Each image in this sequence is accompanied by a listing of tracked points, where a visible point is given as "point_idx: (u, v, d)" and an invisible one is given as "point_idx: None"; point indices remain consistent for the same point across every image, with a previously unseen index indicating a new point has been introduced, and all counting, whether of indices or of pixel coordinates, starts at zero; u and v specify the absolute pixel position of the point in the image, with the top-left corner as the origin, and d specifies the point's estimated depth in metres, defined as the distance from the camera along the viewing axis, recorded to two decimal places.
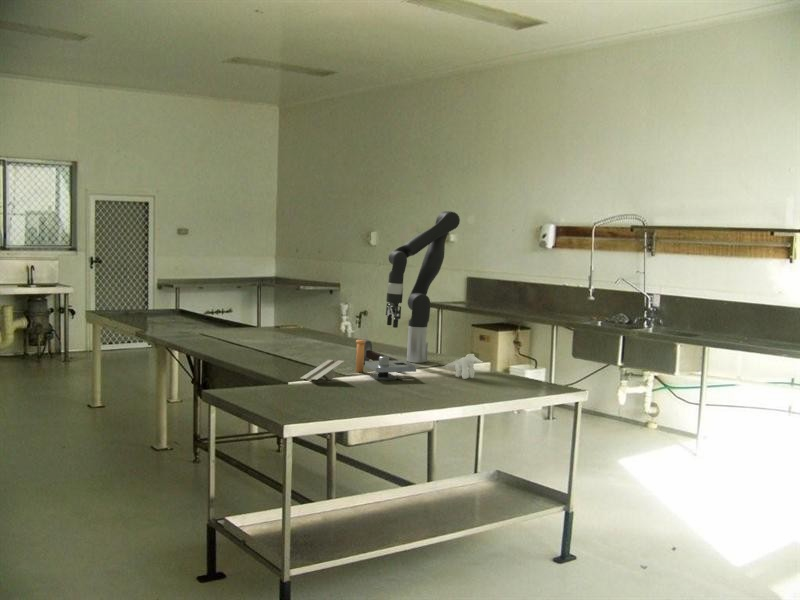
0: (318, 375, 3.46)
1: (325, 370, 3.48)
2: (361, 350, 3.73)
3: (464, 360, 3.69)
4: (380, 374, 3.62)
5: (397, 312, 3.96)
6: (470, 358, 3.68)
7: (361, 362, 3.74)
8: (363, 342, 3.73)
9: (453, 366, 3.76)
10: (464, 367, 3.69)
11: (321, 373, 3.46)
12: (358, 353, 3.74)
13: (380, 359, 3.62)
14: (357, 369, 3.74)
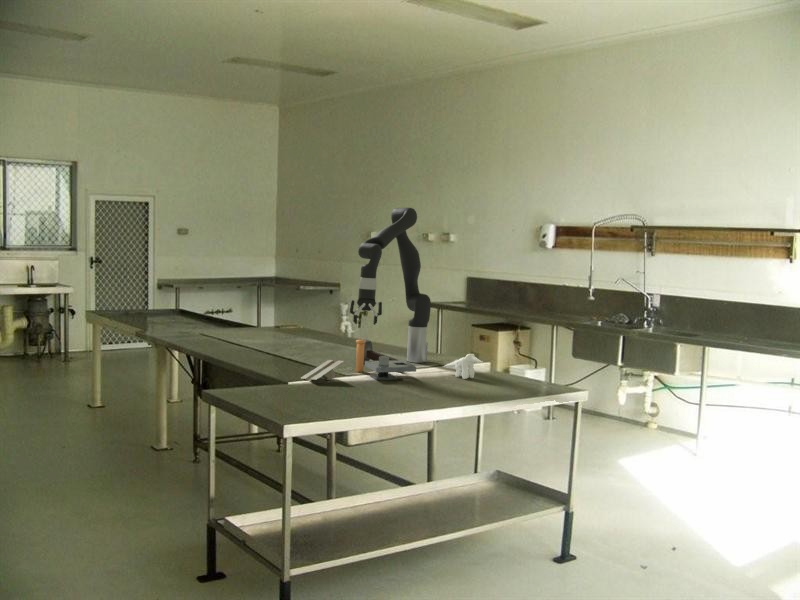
0: (317, 375, 3.46)
1: (325, 370, 3.48)
2: (361, 350, 3.73)
3: (464, 360, 3.69)
4: (380, 374, 3.62)
5: (381, 308, 3.78)
6: (470, 358, 3.68)
7: (361, 362, 3.74)
8: (363, 342, 3.73)
9: (453, 366, 3.76)
10: (464, 367, 3.69)
11: (320, 373, 3.46)
12: (358, 353, 3.74)
13: (380, 359, 3.62)
14: (357, 369, 3.74)
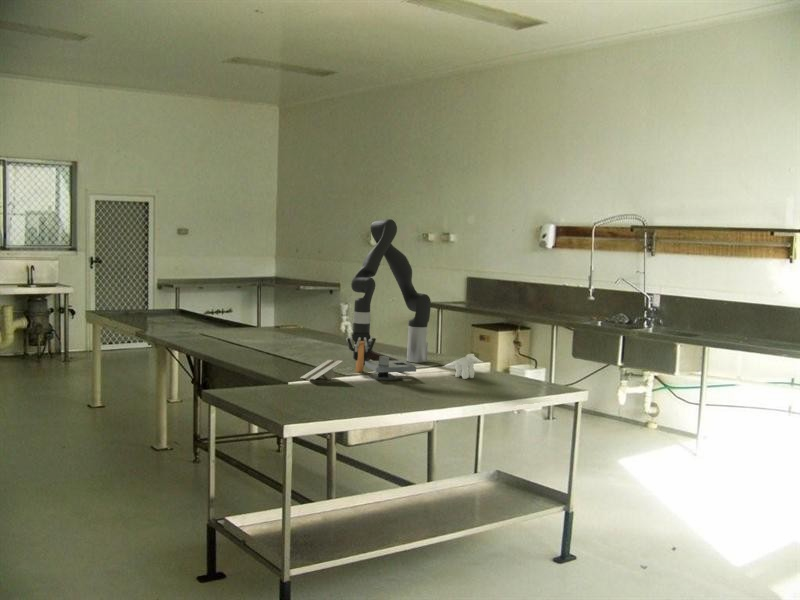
0: (317, 375, 3.46)
1: (324, 370, 3.48)
2: (361, 350, 3.73)
3: (464, 360, 3.69)
4: (380, 374, 3.62)
5: None
6: (470, 358, 3.68)
7: (361, 362, 3.74)
8: (363, 342, 3.73)
9: (453, 366, 3.76)
10: (464, 367, 3.69)
11: (320, 373, 3.47)
12: (358, 353, 3.74)
13: (380, 359, 3.62)
14: (357, 369, 3.74)
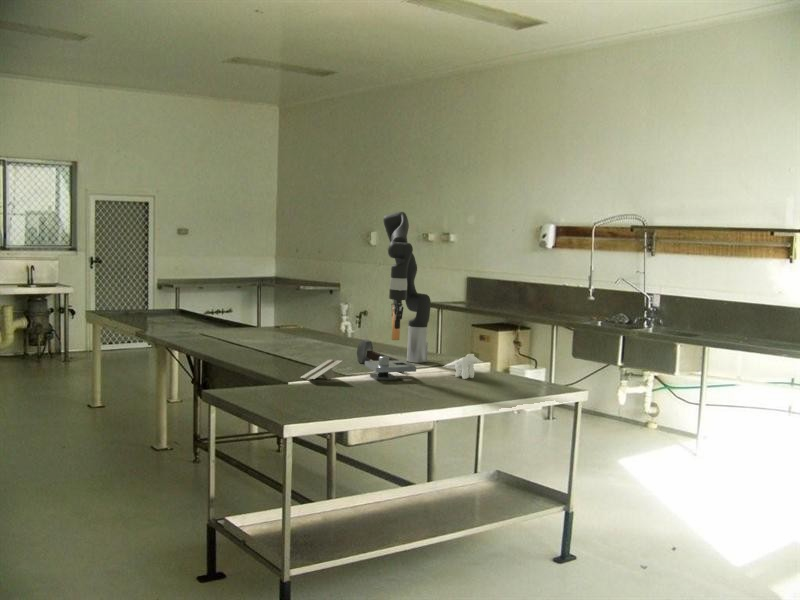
0: (316, 375, 3.46)
1: (323, 370, 3.48)
2: None
3: (464, 360, 3.69)
4: (380, 374, 3.62)
5: None
6: (470, 358, 3.68)
7: None
8: None
9: (453, 366, 3.76)
10: (464, 367, 3.69)
11: (319, 373, 3.47)
12: None
13: (380, 359, 3.62)
14: (398, 337, 3.65)
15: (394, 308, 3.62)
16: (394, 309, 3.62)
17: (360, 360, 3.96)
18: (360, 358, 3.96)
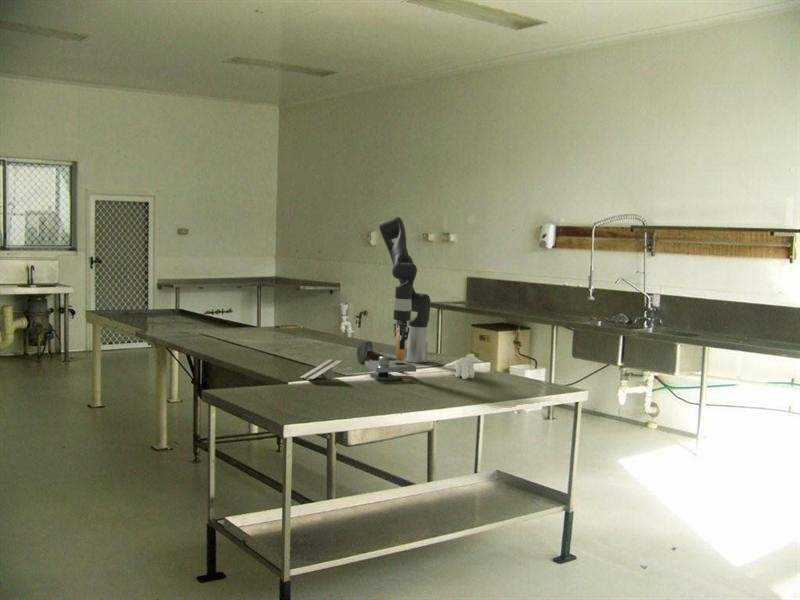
0: (315, 374, 3.47)
1: (323, 370, 3.49)
2: None
3: (464, 360, 3.69)
4: (380, 374, 3.62)
5: None
6: (470, 358, 3.68)
7: None
8: None
9: (453, 366, 3.76)
10: (464, 367, 3.69)
11: (318, 373, 3.47)
12: None
13: (380, 359, 3.62)
14: (403, 358, 3.65)
15: (399, 329, 3.62)
16: (399, 330, 3.62)
17: (360, 360, 3.96)
18: (360, 359, 3.96)
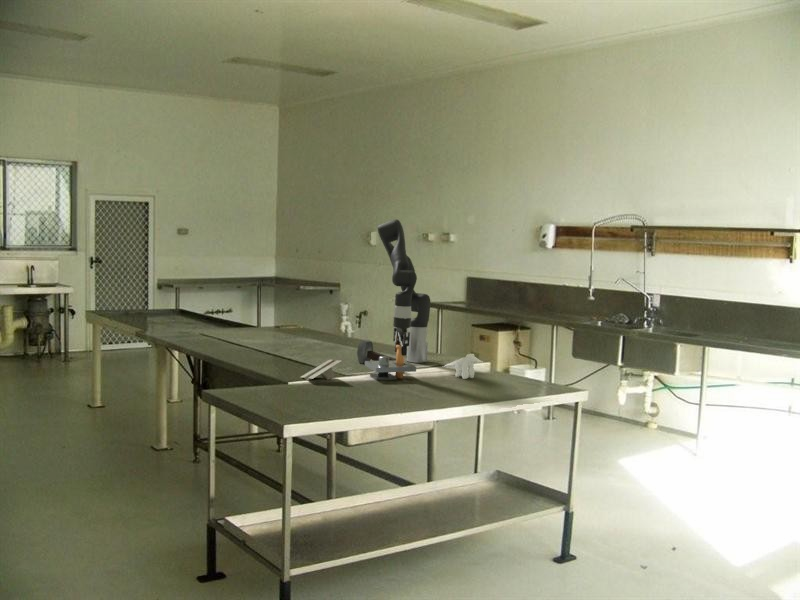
0: (315, 374, 3.47)
1: (322, 369, 3.49)
2: None
3: (464, 360, 3.69)
4: (380, 374, 3.62)
5: None
6: (470, 358, 3.68)
7: None
8: None
9: (453, 366, 3.76)
10: (464, 367, 3.69)
11: (318, 372, 3.48)
12: (403, 358, 3.65)
13: (380, 359, 3.62)
14: (402, 375, 3.66)
15: (399, 335, 3.62)
16: (400, 336, 3.62)
17: (360, 360, 3.96)
18: (360, 359, 3.96)
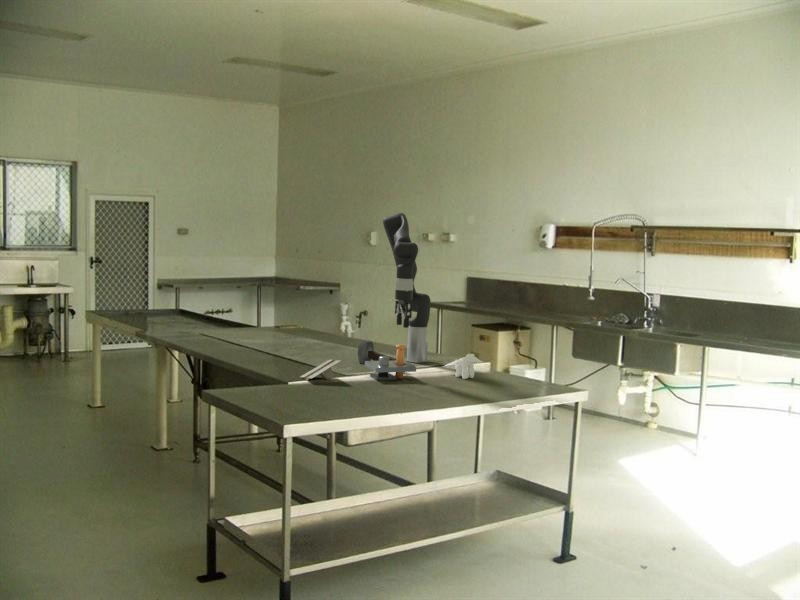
0: (314, 374, 3.47)
1: (322, 369, 3.49)
2: None
3: (464, 360, 3.69)
4: (380, 374, 3.62)
5: None
6: (470, 358, 3.68)
7: None
8: None
9: (453, 366, 3.76)
10: (464, 367, 3.69)
11: (317, 372, 3.48)
12: (403, 358, 3.65)
13: (380, 359, 3.62)
14: (402, 375, 3.66)
15: (401, 308, 3.60)
16: (401, 308, 3.60)
17: (361, 360, 3.96)
18: (361, 359, 3.96)
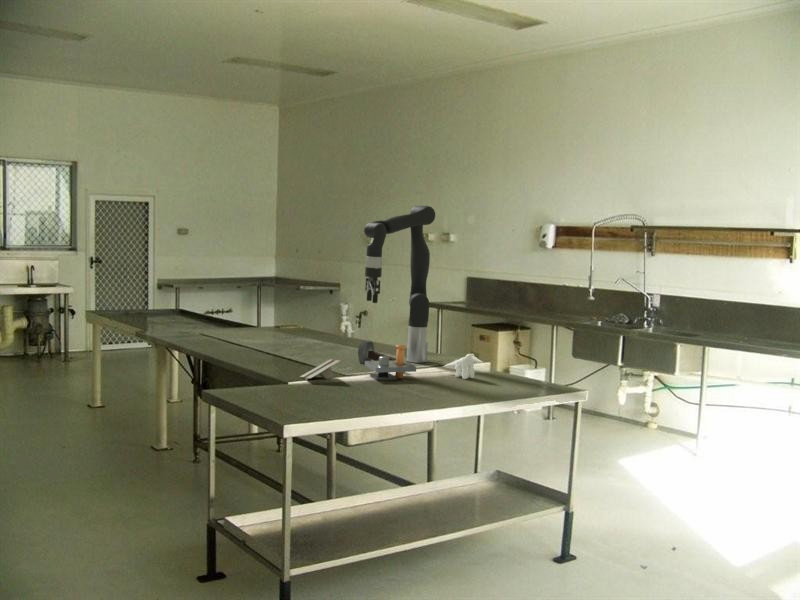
0: (313, 374, 3.48)
1: (321, 369, 3.49)
2: None
3: (464, 360, 3.69)
4: (380, 374, 3.62)
5: None
6: (470, 358, 3.68)
7: None
8: None
9: (453, 366, 3.76)
10: (464, 367, 3.69)
11: (317, 372, 3.48)
12: (403, 358, 3.65)
13: (380, 359, 3.62)
14: (402, 375, 3.66)
15: (371, 284, 3.82)
16: (371, 285, 3.82)
17: (361, 360, 3.96)
18: (361, 359, 3.96)
